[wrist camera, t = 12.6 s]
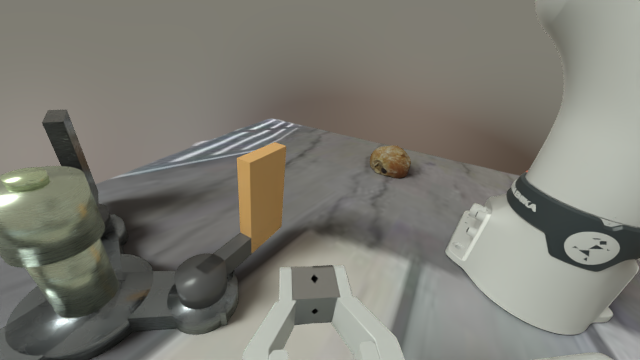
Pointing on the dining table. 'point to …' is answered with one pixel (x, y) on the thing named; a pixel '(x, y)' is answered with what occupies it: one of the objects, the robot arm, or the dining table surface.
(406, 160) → the bread roll
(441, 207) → the dining table surface
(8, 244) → the levelling base
